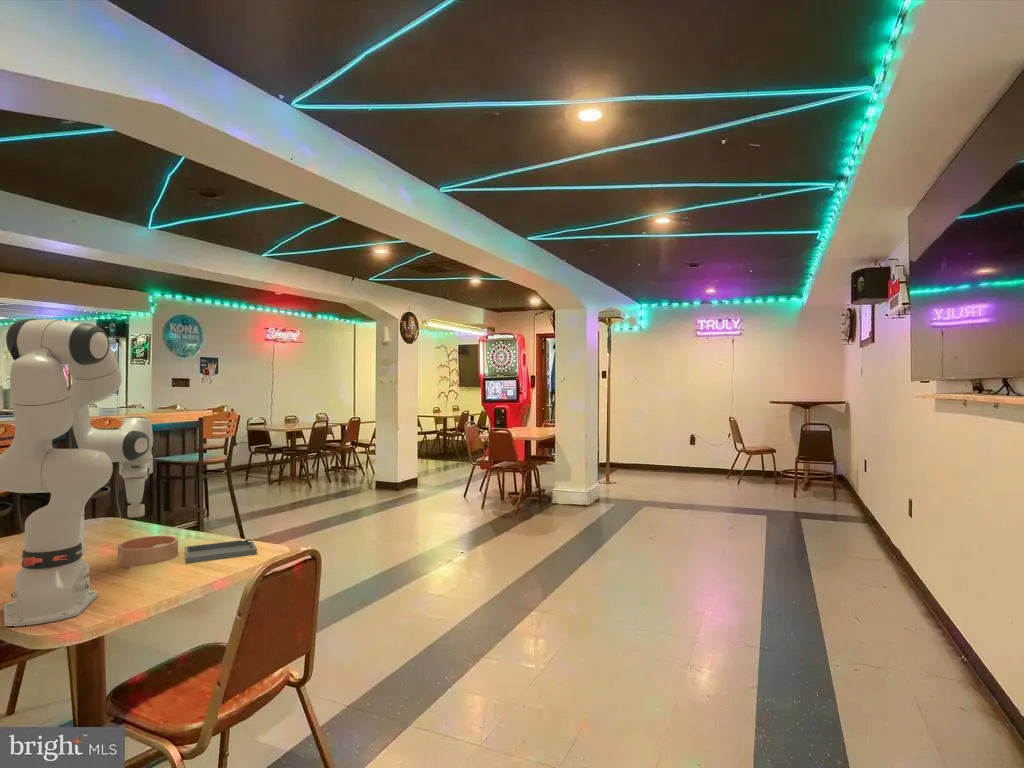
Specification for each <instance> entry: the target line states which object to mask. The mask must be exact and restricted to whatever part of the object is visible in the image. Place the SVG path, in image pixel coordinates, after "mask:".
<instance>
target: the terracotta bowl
mask: <svg viewBox="0 0 1024 768" xmlns="http://www.w3.org/2000/svg"><path fill="white" fill-rule="evenodd" d="M158 544H166V545H162V546H157V547H153V546H155V545H158ZM178 549H179V538H178V537H177V536H173V535H151V536H143V537H137V538H132V539H129V540H126V541H123V542H120V543H118V546H117V566H119V565H120V566H119V567H121V566H122V567H121V568H127V567H129V568H131V566H144V565H152V564H153V565H154V564H158V563H161V562H166V561H169V560H172V559H174V558H176V557H177V556H178V555H179V550H178Z"/></svg>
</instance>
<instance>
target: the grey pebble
mask: <svg viewBox="0 0 1024 768" xmlns="http://www.w3.org/2000/svg"><path fill="white" fill-rule="evenodd" d="M145 514H146V511H145V504H143V503H140V504H139V514H137V515H133V514H132V506H131V504H130V505H127V518H131V519H133V518H141V517H143V516H145Z"/></svg>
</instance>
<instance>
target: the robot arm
mask: <svg viewBox="0 0 1024 768" xmlns="http://www.w3.org/2000/svg"><path fill="white" fill-rule="evenodd" d="M5 342H6V344H5V345H6V346H7V350H8V352H9V354H10V357H11V358H12V360H13V362H12V363H11V365H10V371H9V372H10V373H9V388H10V389H9V390H10V398H11V404H12V410H13V417H14V427H15V430H14V431H15V433H14V437H13V440H12V442H11V444H10V446H8V448H7V449H6V450H5V451H4V452H2V453H1V454H0V491H2V492H3V491H4V492H11V493H18V494H35V493H36V494H37V493H39V494H40V493H43V494H46V493H50V499H49V501H48V504H46V505H45V506H43V507H40V508H38V509H36V510H35V511H32V513H31V514H29V516H27V518H26V520H25V521H24V549H23V550H22V552H21V554H22V555H21V559H20V560H21V567H22V568H20V569H19V570H18V571H16V573H15V591H12V592H11V594H10V597H11V598H12V599H15V600H13V601H10V602H8V603H7V602H6V603H5V604H4V605H3V626H4V625H7V626H8V625H9V626H10V625H11V626H14V627H24V626H25V625H26V626H32V625H39V624H45V623H51V622H56V621H57V622H58V621H61V620H65V619H69V618H73V617H75V616H76V617H77V616H79V615H80V614H81V613H82V612H83V611H84V610H85V609H86V608H87V607H88V606H89V605H90V604H91V603H92V602H93V601H94V600H95V599H96V598H97V597H98V596H99V593H98V590H95V589H94V590H92V589H90V586H91V585H90V565H89V564H88V563H87V562H86V561H84V560H83V559H82V556H83V554H82V543H81V542H80V525H81V516H82V512H83V509H84V510H85V507H86V504H87V503H88V501H89V500H90V498H91V497H92V496H93V495H94V494H95V493H96V492H97V491H98V490H100V489H102V488H103V487H104V486H106V485H107V483H109V481H110V479H111V477H112V475H113V471H114V470H113V467H114V465H113V463H117V462H119V463H118V464H119V469H118V470H119V472H118V473H119V476H121V478H122V479H123V480H124V488H125V497H126V500H127V503H128V504H130V505H131V506H132V514H133V515H137V514H139V504H141V503H142V501H143V497H144V491H145V482H146V480H147V479H149V475H151V474H153V472H154V466H153V465H154V456H153V452H152V450H153V449H152V448H153V446H154V433H153V426H152V422H151V419H149V418H148V417H144V416H125V417H123V418H122V420H121V424H120V427H118V428H117V429H100V428H99V429H97V428H96V427H95V428H94V427H93V426H92V425H91V418H90V412H89V411H90V410H89V409H90V408H89V406H90V405H92V404H95V403H100V402H102V401H104V400H106V399H108V398H109V397H111V396H113V395H115V393H116V392H117V391H118V390H119V388H120V387H121V385H122V381H123V379H122V373H121V370H120V366H119V362H118V360H117V358H116V355H115V353H114V351H113V349H112V346H111V345H110V339H109V336H108V335H107V333H106V332H105V330H104V329H102V328H101V327H99V326H97V325H95V324H91V323H86V322H84V323H83V322H82V323H81V322H75V321H67V320H62V319H50V318H49V319H36V318H26V319H19V320H17V321H14V323H12V324H11V325H10V327H9V328H8V330H7V332H6V336H5ZM65 365H67V367H68V370H69V374H70V377H71V384H70V385H68V383H67V380H66V375H65V374H64V369H65ZM68 431H69V448H54V446H53V440H54V439H57V438H58V437H60V436H62V435H64V434H66V433H67V432H68Z"/></svg>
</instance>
